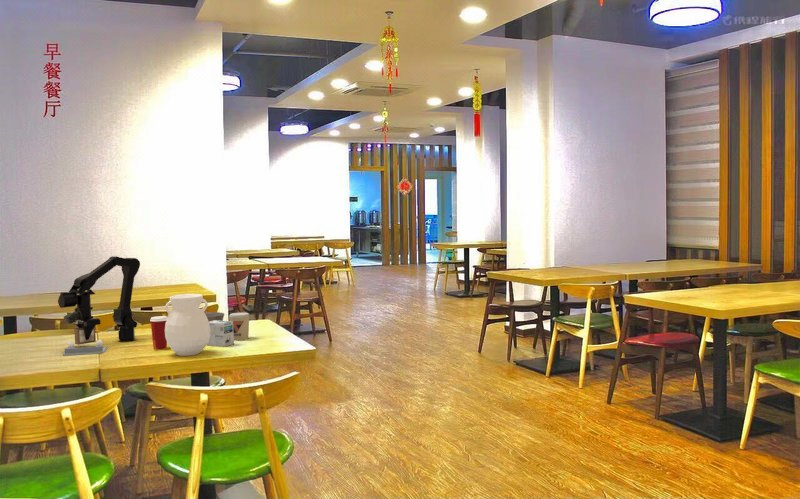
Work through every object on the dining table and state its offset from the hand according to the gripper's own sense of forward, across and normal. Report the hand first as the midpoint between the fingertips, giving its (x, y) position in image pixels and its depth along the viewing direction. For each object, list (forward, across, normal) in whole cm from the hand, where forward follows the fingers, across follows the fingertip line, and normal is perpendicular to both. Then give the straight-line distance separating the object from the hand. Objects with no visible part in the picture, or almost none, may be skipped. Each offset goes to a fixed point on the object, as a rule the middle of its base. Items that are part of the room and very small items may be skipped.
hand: (85, 339), depth 308 cm
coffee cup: (+4, +42, +54) cm, 68 cm away
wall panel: (+4, +11, -5) cm, 12 cm away
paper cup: (+4, +30, +19) cm, 36 cm away
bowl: (+4, +14, +52) cm, 54 cm away
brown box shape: (+2, 0, 0) cm, 2 cm away
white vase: (+4, +52, +20) cm, 56 cm away
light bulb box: (+4, +46, +40) cm, 61 cm away
